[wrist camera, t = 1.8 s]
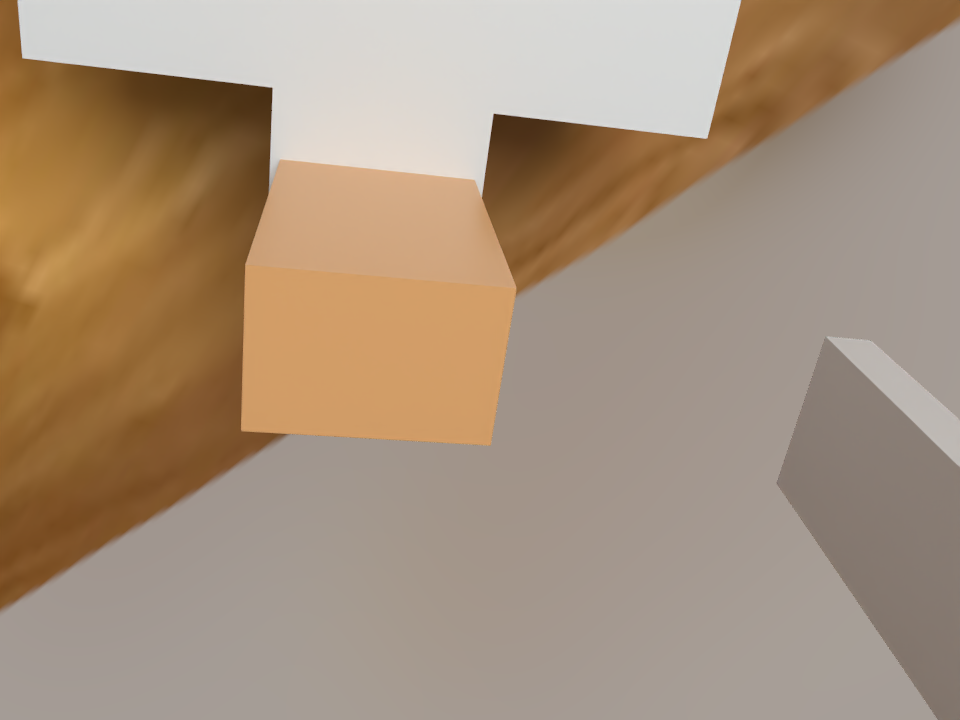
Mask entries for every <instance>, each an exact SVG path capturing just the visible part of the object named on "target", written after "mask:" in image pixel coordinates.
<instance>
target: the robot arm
mask: <svg viewBox="0 0 960 720" xmlns="http://www.w3.org/2000/svg"><path fill="white" fill-rule="evenodd" d="M777 484H778V486H779V488H780V489H781V490H782V492H783V493H784V495H785V496H786V498H787V499H788V501H789V502H790V504H791V505H792V507H793V508H794V509H795V511H796V512H797V514H798V515H799V517H800V518H801V520H802V521H803V523H804V524H805V526H806V527H807V529H808V530H809V531H810V533H811V534H812V536H813V537H814V539H815V540H816V542H817V543H818V545H819V546H820V548H821V549H822V551H823V552H824V553H825V555H826V556H827V558H828V559H829V561H830V562H831V564H832V565H833V567H834V568H835V569H836V571H837V572H838V574H839V575H840V577H841V578H842V580H843V581H844V583H845V584H846V586H847V587H848V589H849V590H850V591H851V593H852V594H853V596H854V597H855V599H856V600H857V602H858V603H859V605H860V606H861V608H862V609H863V611H864V612H865V613H866V615H867V616H868V618H869V619H870V621H871V622H872V624H873V625H874V627H875V628H876V630H877V631H878V632H879V634H880V635H881V637H882V638H883V640H884V641H885V643H886V644H887V646H888V647H889V649H890V650H891V652H892V653H893V654H894V656H895V657H896V659H897V660H898V662H899V663H900V665H901V666H902V668H903V669H904V671H905V672H906V674H907V675H908V677H909V678H910V679H911V681H912V682H913V684H914V685H915V687H916V688H917V690H918V691H919V692H920V694H921V695H922V697H923V698H924V700H925V701H926V703H927V704H928V706H929V707H930V709H931V710H932V712H933V713H934V715H935V716H936V718H937V719H938V720H960V420H959V419H958V418H957V417H956V416H955V415H954V414H953V413H951V412H950V411H949V410H948V409H947V408H946V407H945V406H943V404H941V403H940V402H939V401H938V400H937V399H936V398H934V397H933V396H932V395H931V394H930V393H929V392H928V391H927V390H926V389H925V388H923V387H922V386H921V385H920V384H919V383H918V382H917V381H916V380H915V379H913V378H912V377H911V376H910V375H909V374H908V373H907V372H905V371H904V370H903V369H902V368H901V367H900V366H899V365H898V364H897V363H895V362H894V361H893V360H892V359H891V358H890V357H889V356H888V355H886V354H885V353H884V352H883V351H882V350H881V349H880V348H879V347H877V346H876V345H875V344H874V343H873V342H872V341H871V340H860V339H849V338H838V337H825V340H824V343H823V346H822V349H821V352H820V355H819V358H818V361H817V364H816V367H815V370H814V373H813V376H812V379H811V382H810V385H809V388H808V391H807V394H806V397H805V400H804V403H803V406H802V409H801V412H800V415H799V418H798V421H797V424H796V427H795V430H794V433H793V436H792V439H791V442H790V445H789V448H788V451H787V454H786V457H785V460H784V463H783V466H782V469H781V472H780V475H779V478H778V481H777Z"/></svg>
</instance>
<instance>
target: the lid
mask: <svg viewBox="0 0 960 720" xmlns="http://www.w3.org/2000/svg"><path fill="white" fill-rule="evenodd" d="M740 3H741V0H18V10H19V23H20V35H21V48H22V58H25V59H34V60H42V61H51V62H59V63H68V64H76V65H85V66H93V67H102V68H110V69H119V70H127V71H136V72H144V73H153V74H161V75H170V76H178V77H187V78H195V79H204V80H212V81H221V82H229V83H238V84H246V85H255V86H263V87H272V88H273V93H272V121H271V149H270V177H269V195H268V198H267V201H266V204H265V207H264V210H263V213H262V216H261V219H260V222H259V225H258V228H257V231H256V234H255V237H254V240H253V243H252V246H251V249H250V252H249V255H248V258H247V261H246V264H245V297H244V337H243V376H242V416H241V431H248V432H266V433H283V434H300V435H318V436H334V437H352V438H369V439H387V440H404V441H421V442H437V443H455V444H473V445H489V446H490V445H491V440H492V434H493V427H494V422H495V416H496V410H497V404H498V398H499V392H500V386H501V380H502V374H503V367H504V360H505V355H506V349H507V343H508V337H509V331H510V325H511V319H512V313H513V307H514V301H515V295H516V289H517V288H516V285H515V283H514V280H513V278H512V275H511V272H510V270H509V267H508V265H507V262H506V259H505V257H504V254H503V252H502V249H501V247H500V244H499V241H498V239H497V236H496V234H495V231H494V228H493V226H492V223H491V221H490V218H489V215H488V213H487V210H486V208H485V205H484V203H483V200H482V192H483V185H484V178H485V171H486V164H487V156H488V149H489V142H490V135H491V128H492V121H493V114H502V115H510V116H519V117H527V118H536V119H544V120H553V121H561V122H570V123H578V124H587V125H595V126H604V127H612V128H621V129H629V130H638V131H646V132H655V133H663V134H672V135H680V136H689V137H697V138H706V139H707V137H708V133H709V129H710V125H711V121H712V117H713V113H714V109H715V105H716V101H717V97H718V93H719V88H720V84H721V80H722V76H723V72H724V68H725V64H726V60H727V56H728V52H729V48H730V44H731V40H732V35H733V31H734V27H735V23H736V19H737V15H738V11H739V7H740Z"/></svg>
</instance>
